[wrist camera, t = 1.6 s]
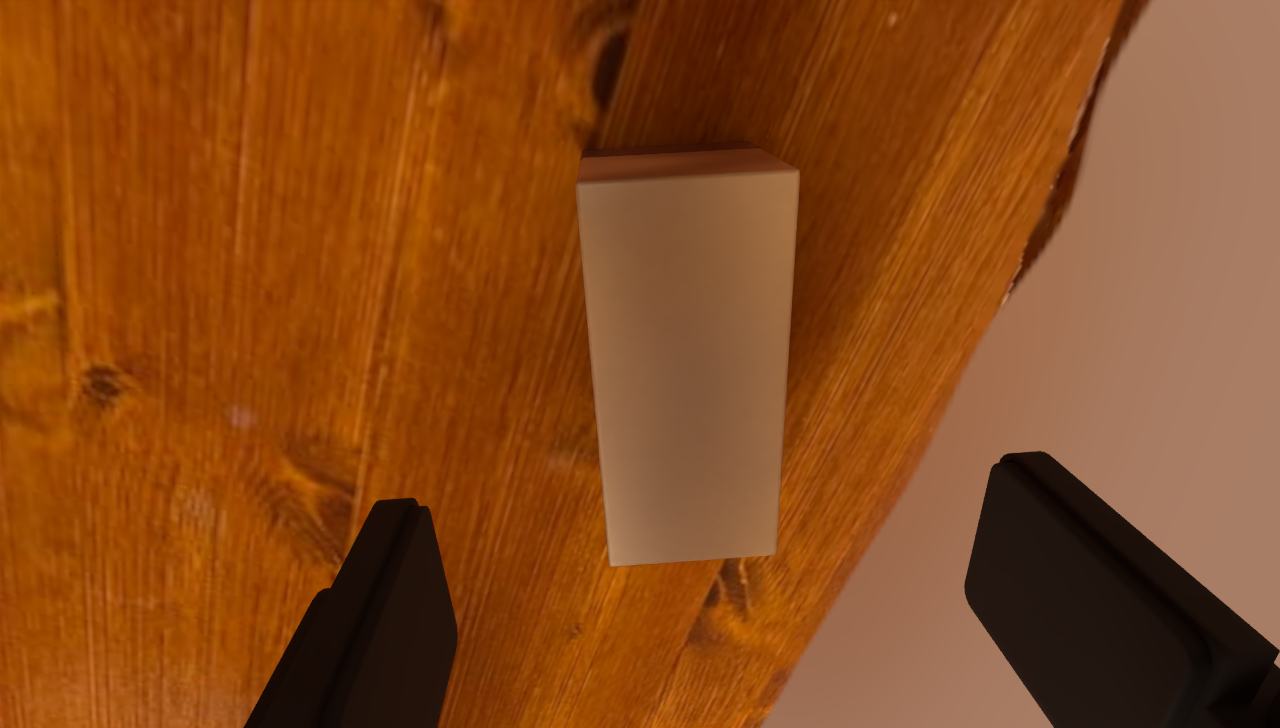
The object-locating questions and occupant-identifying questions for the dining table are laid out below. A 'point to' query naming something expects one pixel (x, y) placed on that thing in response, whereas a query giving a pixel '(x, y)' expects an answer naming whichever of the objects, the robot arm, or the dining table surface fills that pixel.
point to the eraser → (688, 344)
